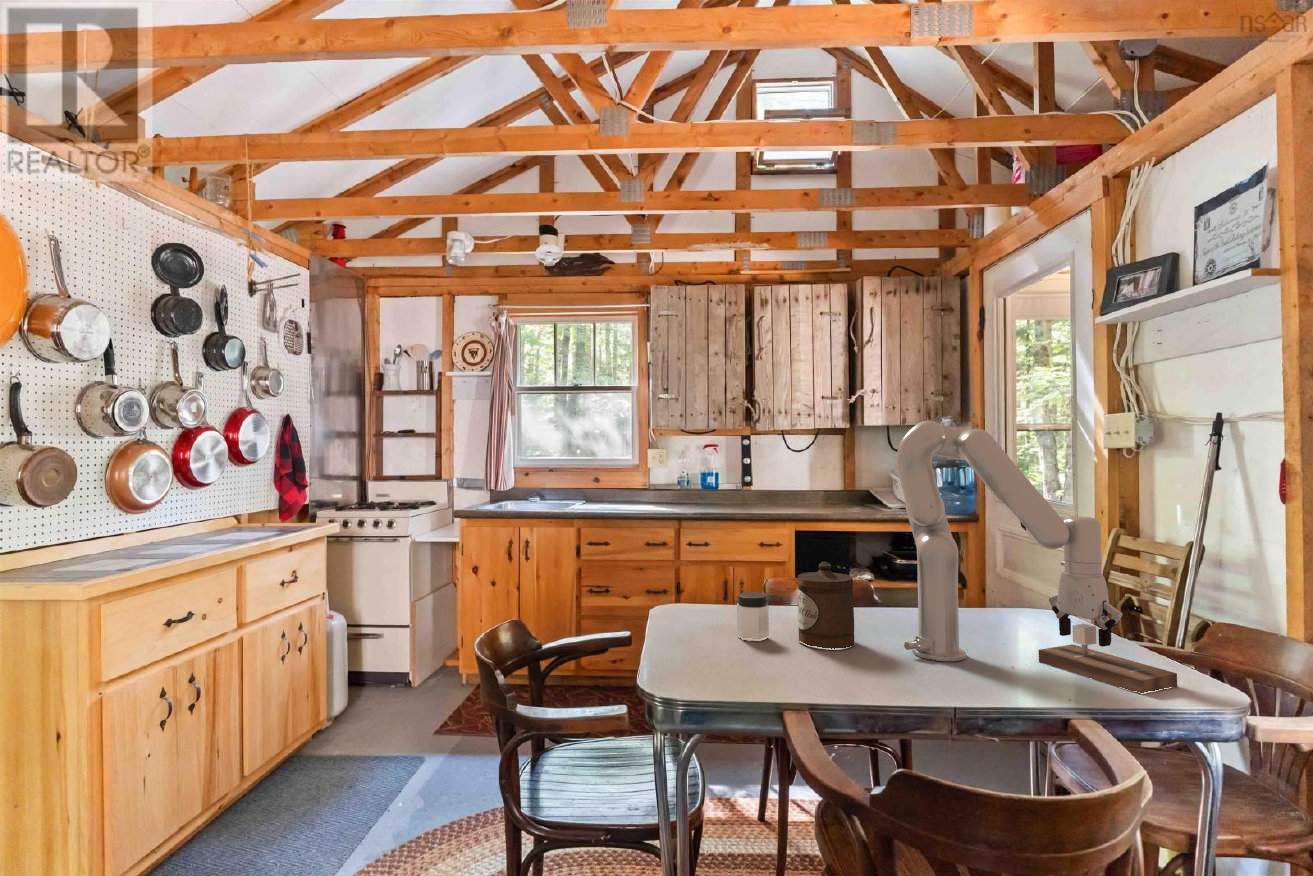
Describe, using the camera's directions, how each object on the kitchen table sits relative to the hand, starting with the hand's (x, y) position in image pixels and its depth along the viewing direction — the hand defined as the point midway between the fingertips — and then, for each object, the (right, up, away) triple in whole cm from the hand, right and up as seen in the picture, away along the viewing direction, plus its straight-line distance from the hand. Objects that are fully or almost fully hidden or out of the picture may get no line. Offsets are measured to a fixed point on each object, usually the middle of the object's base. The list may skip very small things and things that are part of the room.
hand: (1084, 640), depth 157 cm
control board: (+2, -6, -4) cm, 8 cm away
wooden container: (-56, -8, +22) cm, 61 cm away
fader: (0, -3, 0) cm, 3 cm away
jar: (-76, -8, +27) cm, 81 cm away
